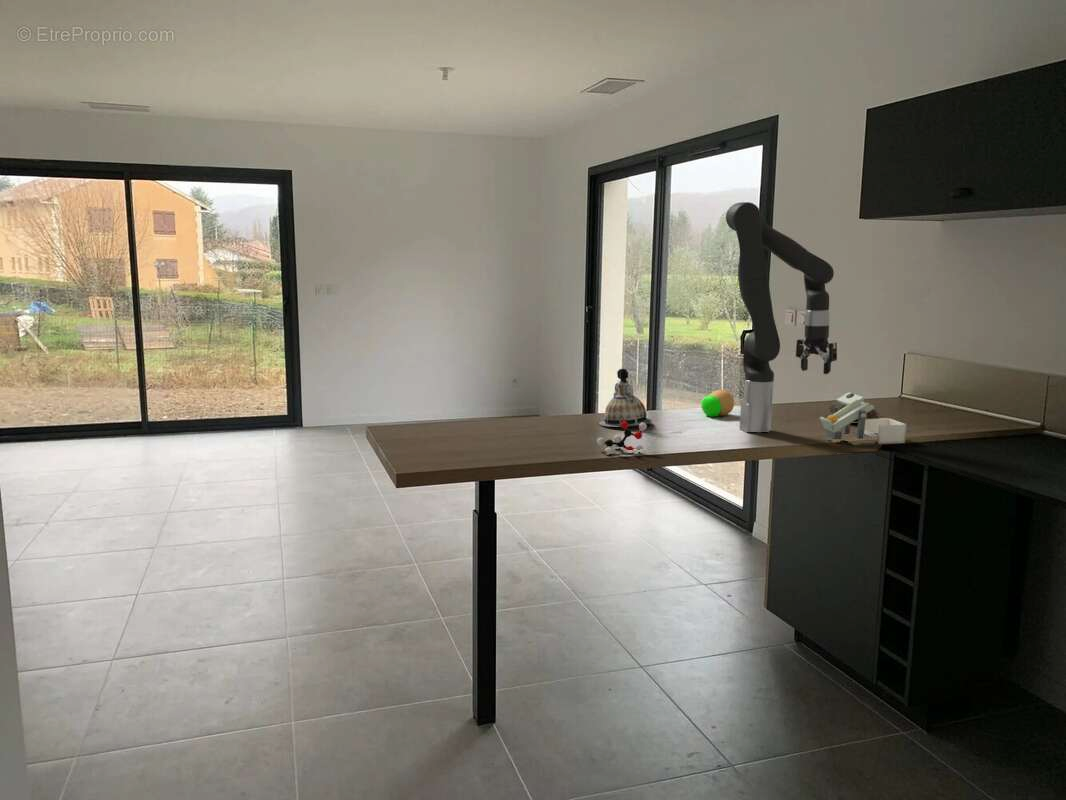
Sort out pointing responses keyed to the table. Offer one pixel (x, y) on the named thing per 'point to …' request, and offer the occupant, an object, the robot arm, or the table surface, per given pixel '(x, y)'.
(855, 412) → the lever
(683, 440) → the table surface
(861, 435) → the fulcrum
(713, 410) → the green and tan spheres
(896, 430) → the white open box
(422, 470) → the table surface
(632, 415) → the figurine
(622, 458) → the table surface
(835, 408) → the turtle shell
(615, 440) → the molecular model
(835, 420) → the ball
